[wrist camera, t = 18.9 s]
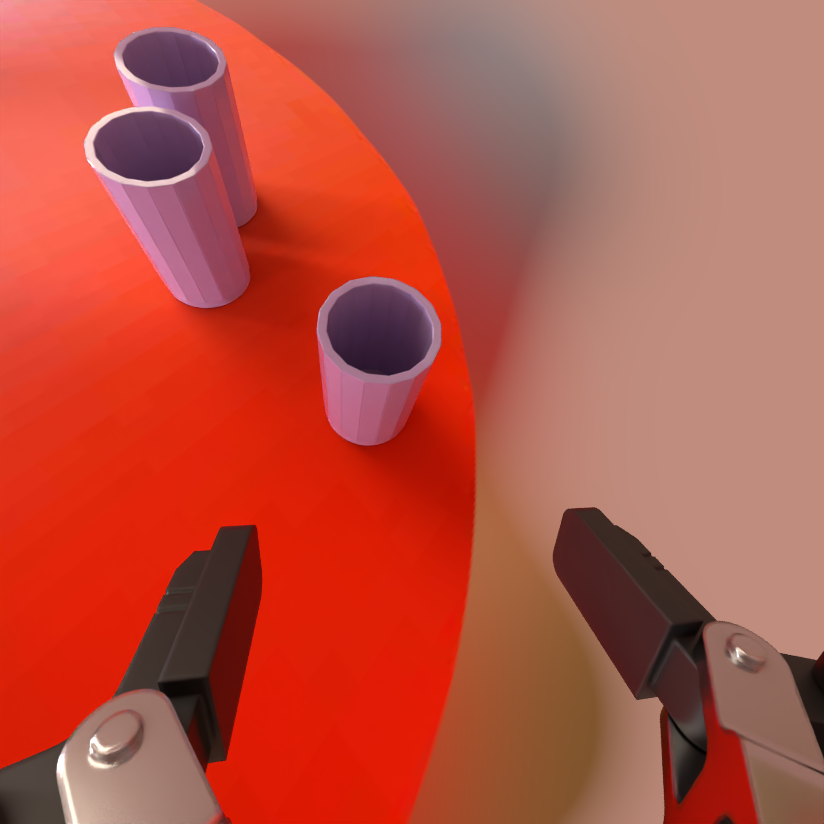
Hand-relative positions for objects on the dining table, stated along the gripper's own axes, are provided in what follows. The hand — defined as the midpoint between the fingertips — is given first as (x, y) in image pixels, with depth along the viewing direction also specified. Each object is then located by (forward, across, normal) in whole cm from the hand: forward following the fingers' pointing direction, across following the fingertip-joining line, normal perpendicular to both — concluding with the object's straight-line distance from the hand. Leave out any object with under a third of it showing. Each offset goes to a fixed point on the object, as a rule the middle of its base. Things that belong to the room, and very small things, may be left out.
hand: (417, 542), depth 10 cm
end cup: (+18, 0, +4) cm, 18 cm away
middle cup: (+26, +12, -4) cm, 28 cm away
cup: (+31, +12, -9) cm, 34 cm away
